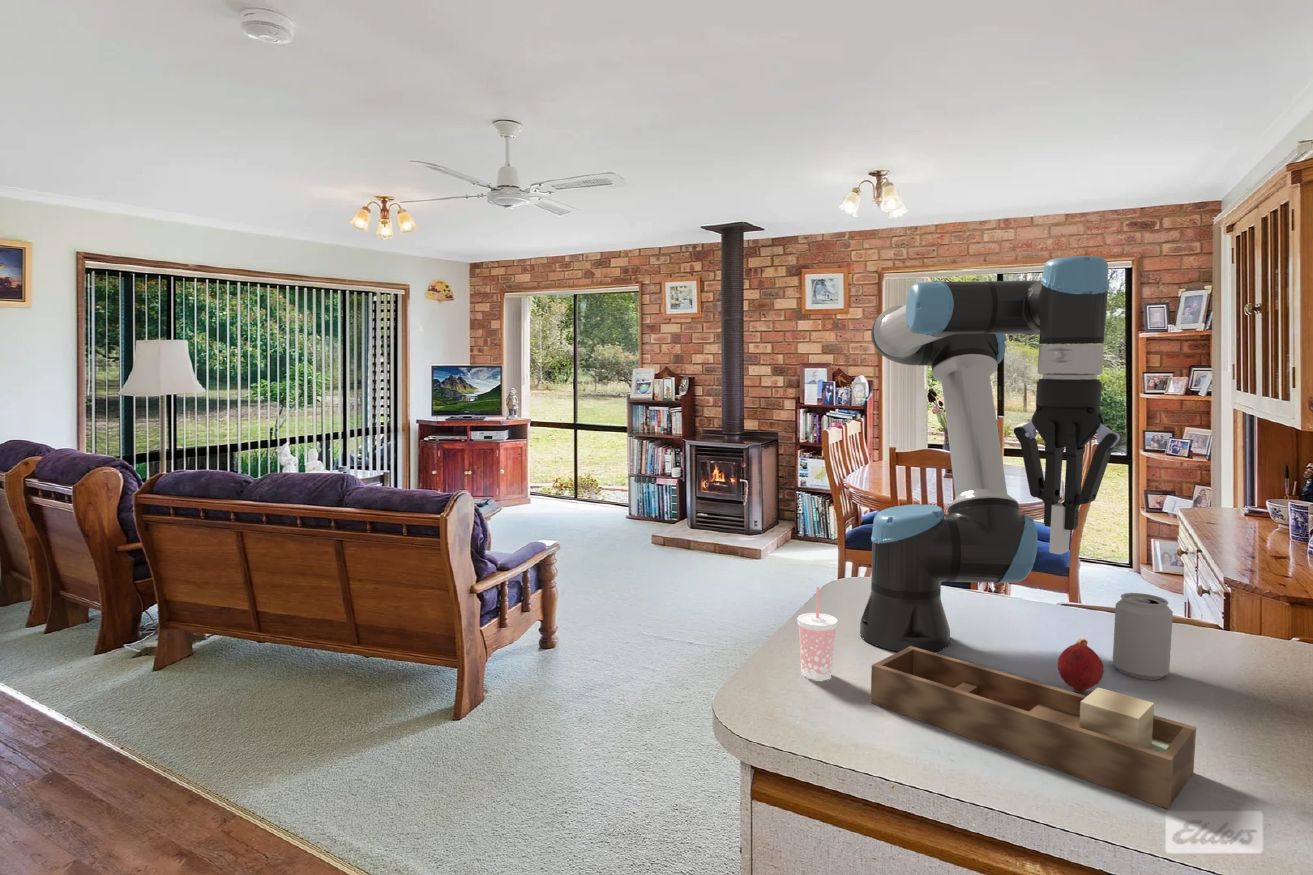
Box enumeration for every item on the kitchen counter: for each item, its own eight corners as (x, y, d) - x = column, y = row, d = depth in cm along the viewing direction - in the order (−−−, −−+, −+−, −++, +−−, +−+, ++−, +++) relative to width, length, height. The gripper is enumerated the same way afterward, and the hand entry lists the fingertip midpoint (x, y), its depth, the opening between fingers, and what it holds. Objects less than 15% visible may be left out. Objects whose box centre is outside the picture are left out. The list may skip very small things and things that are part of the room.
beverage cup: (837, 685, 113) (838, 594, 112) (795, 681, 115) (796, 591, 113) (836, 669, 119) (838, 582, 118) (797, 666, 120) (798, 580, 119)
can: (1178, 683, 113) (1183, 606, 112) (1123, 679, 115) (1127, 603, 114) (1156, 664, 121) (1160, 591, 120) (1104, 661, 122) (1108, 589, 121)
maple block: (1078, 742, 89) (1080, 701, 89) (1095, 726, 93) (1097, 687, 93) (1136, 761, 85) (1138, 718, 85) (1151, 743, 89) (1154, 702, 89)
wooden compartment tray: (870, 702, 107) (871, 665, 107) (909, 680, 115) (910, 645, 114) (1168, 809, 81) (1171, 760, 80) (1193, 772, 88) (1196, 727, 88)
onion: (1085, 703, 107) (1088, 648, 106) (1047, 688, 112) (1050, 636, 111) (1110, 695, 109) (1113, 641, 109) (1072, 681, 114) (1075, 629, 114)
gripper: (1006, 376, 101) (998, 547, 104) (1114, 379, 92) (1102, 567, 94) (1030, 375, 106) (1021, 538, 109) (1134, 377, 97) (1122, 556, 99)
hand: (1058, 551), depth 102 cm, fingers closed
